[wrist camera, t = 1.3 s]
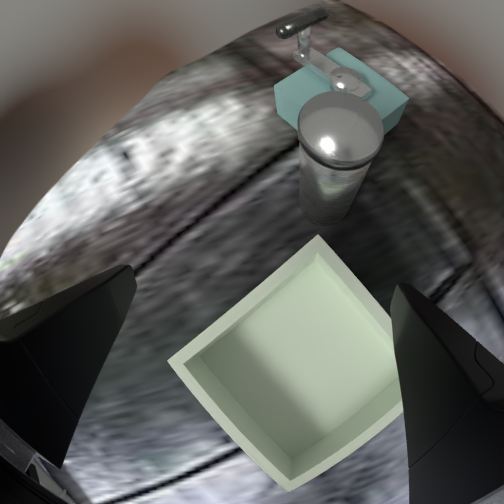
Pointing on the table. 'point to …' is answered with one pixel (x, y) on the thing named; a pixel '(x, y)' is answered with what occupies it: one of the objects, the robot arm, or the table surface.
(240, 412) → the tray
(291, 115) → the crank block
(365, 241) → the table surface
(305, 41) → the crank handle
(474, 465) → the robot arm
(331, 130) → the pin
